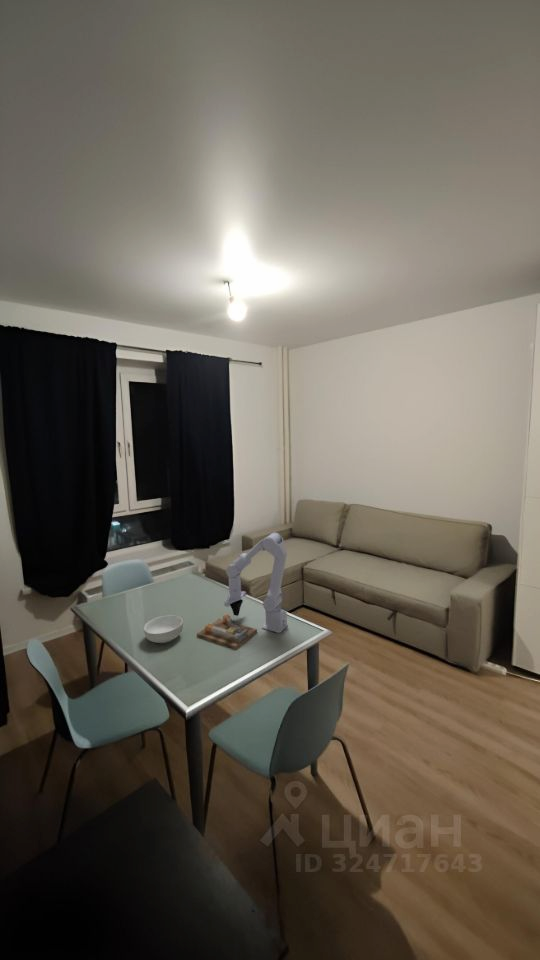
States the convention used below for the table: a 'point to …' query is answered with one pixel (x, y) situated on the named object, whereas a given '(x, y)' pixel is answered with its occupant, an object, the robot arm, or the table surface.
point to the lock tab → (231, 630)
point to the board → (224, 641)
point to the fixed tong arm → (222, 633)
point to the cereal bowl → (163, 628)
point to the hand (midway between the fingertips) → (236, 614)
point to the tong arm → (231, 623)
